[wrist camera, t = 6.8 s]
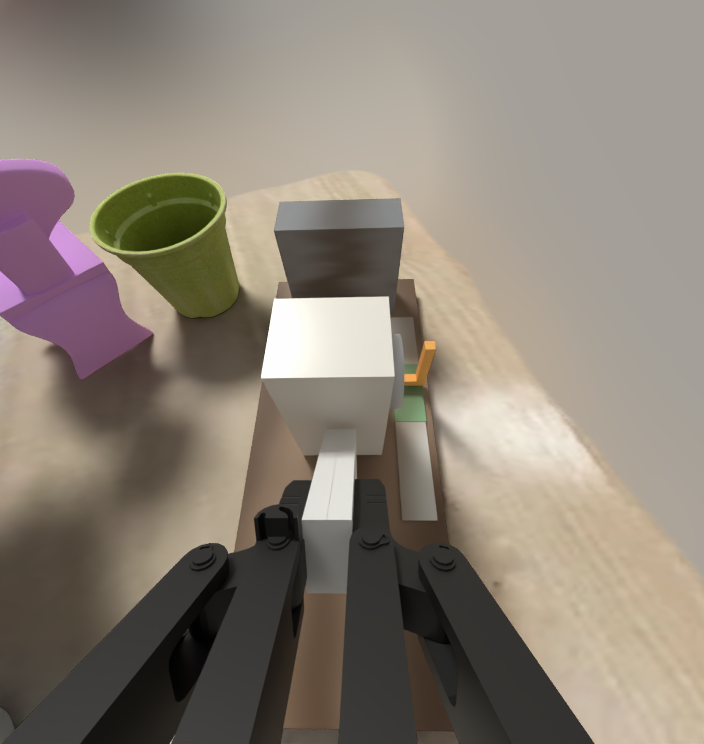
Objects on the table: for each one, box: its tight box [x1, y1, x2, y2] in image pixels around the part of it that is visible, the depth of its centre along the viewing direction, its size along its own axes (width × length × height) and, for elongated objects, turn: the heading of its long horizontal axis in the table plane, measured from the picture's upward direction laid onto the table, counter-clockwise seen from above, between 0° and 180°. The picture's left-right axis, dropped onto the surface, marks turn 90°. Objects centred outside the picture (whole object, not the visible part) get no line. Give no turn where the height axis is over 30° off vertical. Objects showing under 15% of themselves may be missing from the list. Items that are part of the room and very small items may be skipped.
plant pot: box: [89, 173, 239, 318], centre depth 27 cm, size 9×9×9 cm
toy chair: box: [0, 159, 153, 379], centre depth 21 cm, size 8×9×15 cm
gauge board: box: [234, 198, 454, 731], centre depth 19 cm, size 12×28×10 cm, turn 0°
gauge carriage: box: [261, 297, 404, 455], centre depth 17 cm, size 6×4×10 cm
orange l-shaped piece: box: [404, 341, 436, 386], centre depth 21 cm, size 8×2×5 cm, turn 90°
